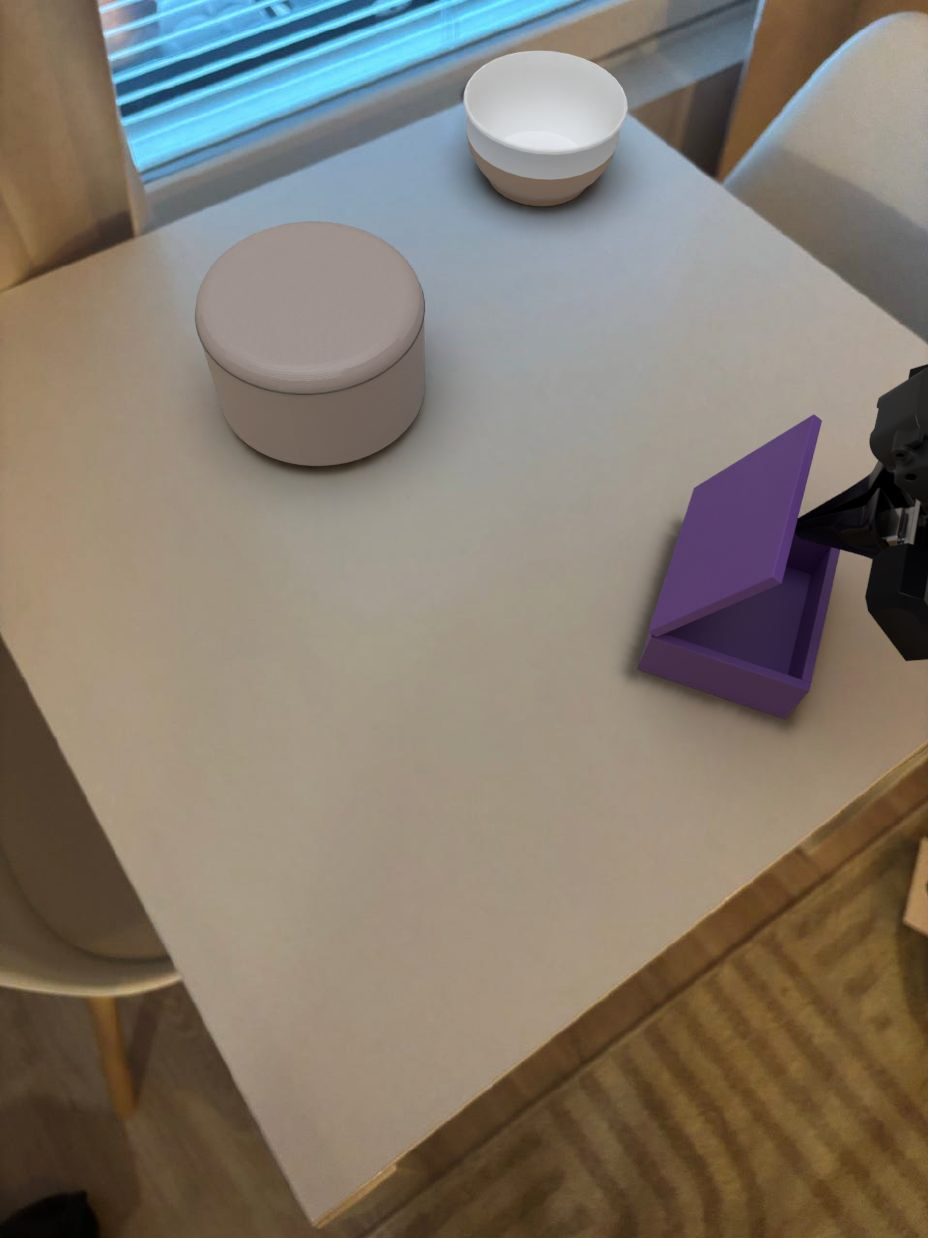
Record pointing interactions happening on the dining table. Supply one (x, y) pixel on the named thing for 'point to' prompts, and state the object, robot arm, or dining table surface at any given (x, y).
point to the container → (314, 341)
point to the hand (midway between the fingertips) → (796, 529)
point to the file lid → (738, 530)
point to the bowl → (543, 124)
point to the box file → (755, 639)
